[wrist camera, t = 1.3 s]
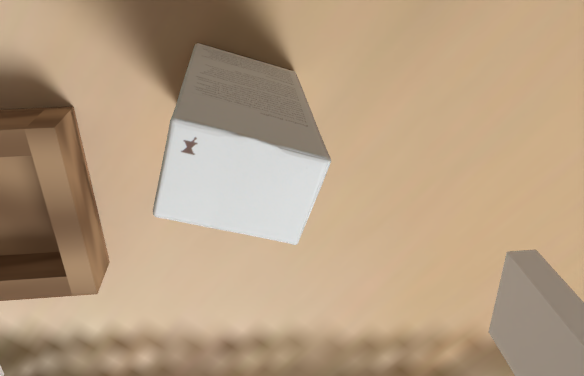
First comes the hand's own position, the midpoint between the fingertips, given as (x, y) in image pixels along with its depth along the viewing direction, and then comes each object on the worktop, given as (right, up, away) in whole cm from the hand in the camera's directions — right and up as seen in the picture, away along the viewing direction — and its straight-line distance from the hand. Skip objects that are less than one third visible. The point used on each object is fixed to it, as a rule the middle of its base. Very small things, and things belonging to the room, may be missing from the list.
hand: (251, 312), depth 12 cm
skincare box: (-2, +9, +16) cm, 19 cm away
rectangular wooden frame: (-17, +3, +18) cm, 25 cm away
